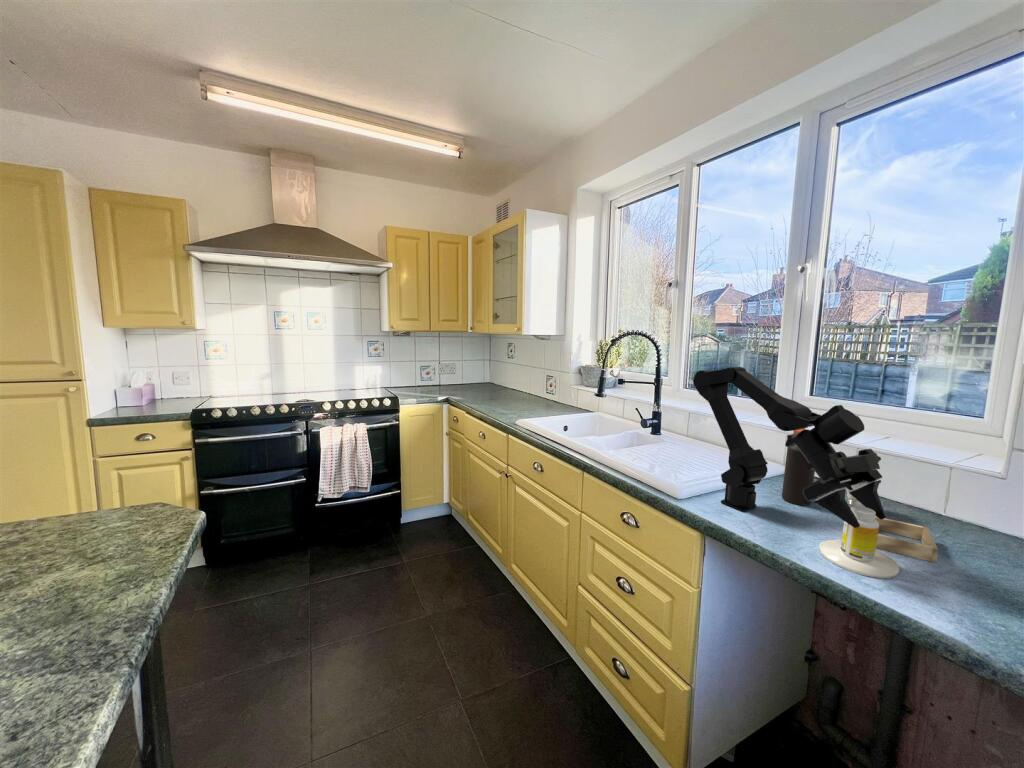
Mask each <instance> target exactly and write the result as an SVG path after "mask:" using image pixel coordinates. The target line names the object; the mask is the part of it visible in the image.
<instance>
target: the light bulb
mask: <svg viewBox="0 0 1024 768" xmlns="http://www.w3.org/2000/svg"><path fill="white" fill-rule="evenodd" d="M844 489H845V490H846V494H847V495H846V496H847V501H846V502H847V504H848V505H849V507H850V508H851V507H852V506H863V504H861V503H860V502H859V501H858V500H857V499H856V498H854V497H853V496H852V495H851V494H850V492H852V491H854V490H849V489H847V488H846V487H845V488H844Z"/></svg>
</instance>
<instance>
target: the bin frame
mask: <svg viewBox="0 0 1024 768" xmlns="http://www.w3.org/2000/svg"><path fill="white" fill-rule="evenodd" d="M875 520H876V521H877V522H878V523H879V530H878V531H879V532H883V533H889V534H893V535H896V536H897V535H899V536H902V537H907V538H911V539H916V540H919V541H921V543H919V542H914V541H911V540H905V539H902V538H898V537H893V536H888V535H884V534H882V533H878V537H877V543H876V549H880V550H883V551H888V552H892V553H895V554H900V555H904V556H908V557H911V558H915V559H920V560H923V561H927V562H931V563H935V564H936V563H937V560H938V559H937V558H938V553H939V548H938V546H937V544H936V542H935V540H934V538H933V535H932V534H931V532H930V530H929V528H928V527H927V526H923V525H918V524H914V523H908V522H904V521H899V520H895V519H889V518H887V517H886V518H884V519H879V518H878V517H877V516H875Z"/></svg>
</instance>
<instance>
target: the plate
mask: <svg viewBox="0 0 1024 768" xmlns="http://www.w3.org/2000/svg"><path fill="white" fill-rule="evenodd" d="M841 541H842V539H827V540H823V541H821V542H820V544H819V547H818V551H819V553H820V554H822V555H823V556H824V557H825V560H827V561H828V560H829V561H828V562H830V563H831V562H832V564H833V563H834V565H835V566H838V567H839V568H840V569H844V570H846V571H848V572H851V573H855V574H857V575H861V576H865V577H869V576H870V578H875V577H878V578H877V579H890V578H894V577H897V576H898V575H899V572H900V566H899V564H898V563H897V561H896V560H895V559H894V558H892V557H891V556H889V555H888V554H886V553H884V552H882V551H880V550H878V549H876V550H875V557H874V559H873V560H872V561H867V562H866V561H859V560H855V559H852V558H850V557H848V556H846V555H845V554H844V553H843V552H842V551H841ZM822 555H821V556H822ZM823 556H822V557H823ZM824 557H823V558H824Z"/></svg>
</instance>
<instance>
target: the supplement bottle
mask: <svg viewBox="0 0 1024 768" xmlns="http://www.w3.org/2000/svg"><path fill="white" fill-rule="evenodd" d="M850 509H851V510H852V512H853V513H854V515H855V517H856V518H857V520H858V522H859V524H860V526H859V527H857V528H854V527H853V526H851V525H850V524H848V523H847V522H845V521H844V520H843V529H842V535H841V540H842V541H841V551H842V552H843V553H844V554H845V555H846V556H848V557H850V558H852V559H855V560H859V561H866V562H867V561H872V560H873V559H874V557H875V550H877V548H876V543H877V537H878V534H879V531H880V530H879V523H878V522H877V521H876V520H875V515H876V512H875V511H874V510H872V509H870V508H867V507H865V506H864V505H861V506H852V507H851V506H850Z"/></svg>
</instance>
